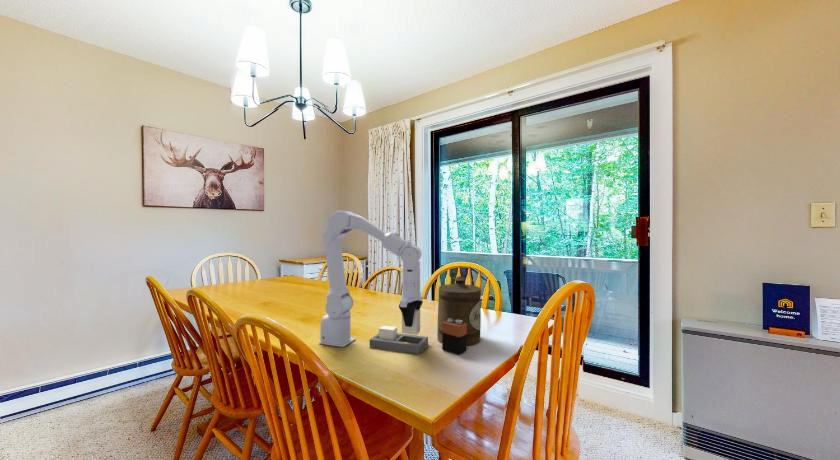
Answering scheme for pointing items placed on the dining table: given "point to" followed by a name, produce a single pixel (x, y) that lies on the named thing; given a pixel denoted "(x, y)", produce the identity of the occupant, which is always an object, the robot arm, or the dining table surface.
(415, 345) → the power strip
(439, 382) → the dining table surface
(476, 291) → the wooden container
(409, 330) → the plug
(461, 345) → the battery
